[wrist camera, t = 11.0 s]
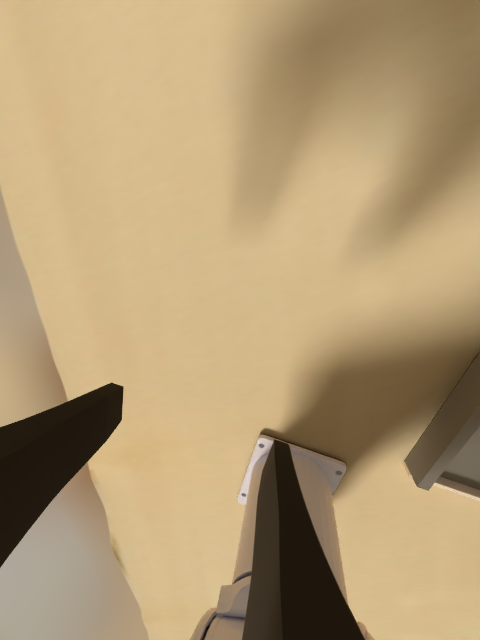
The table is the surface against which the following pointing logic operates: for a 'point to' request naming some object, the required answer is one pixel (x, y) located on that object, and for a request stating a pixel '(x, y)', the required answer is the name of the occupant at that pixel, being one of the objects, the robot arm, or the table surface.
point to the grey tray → (452, 442)
